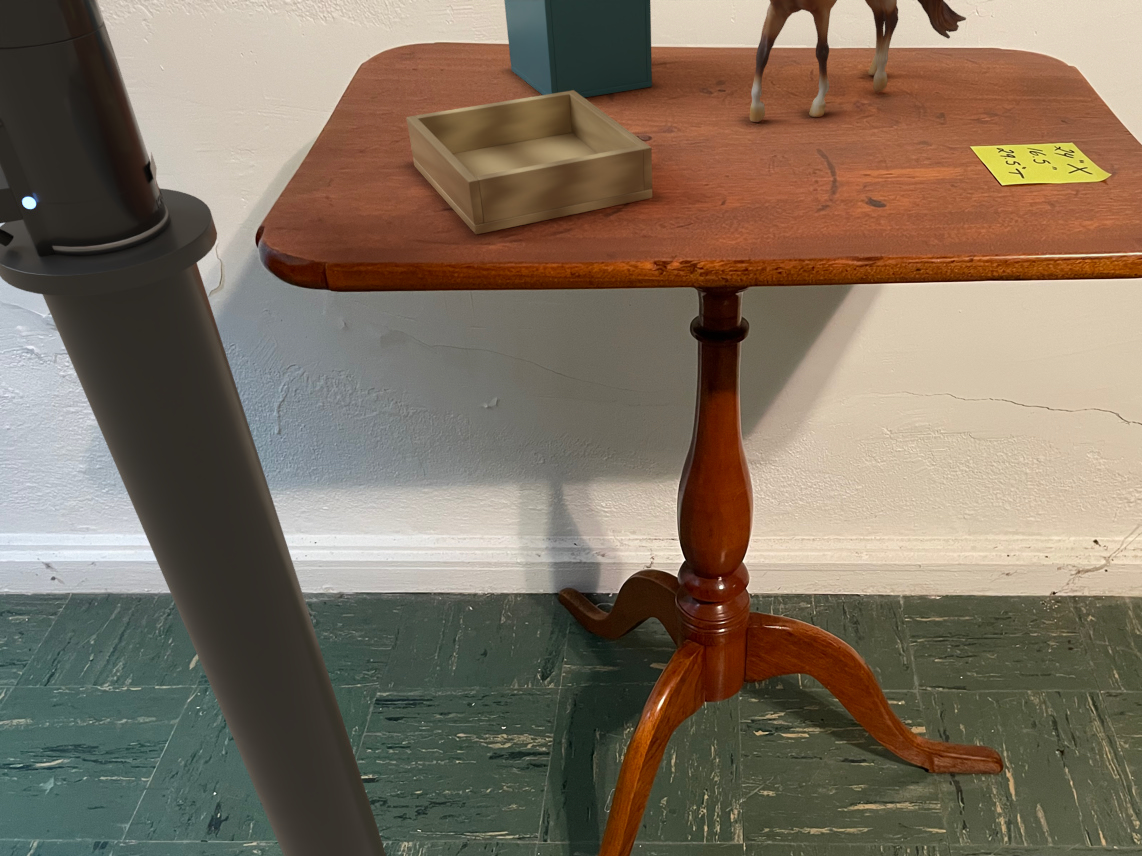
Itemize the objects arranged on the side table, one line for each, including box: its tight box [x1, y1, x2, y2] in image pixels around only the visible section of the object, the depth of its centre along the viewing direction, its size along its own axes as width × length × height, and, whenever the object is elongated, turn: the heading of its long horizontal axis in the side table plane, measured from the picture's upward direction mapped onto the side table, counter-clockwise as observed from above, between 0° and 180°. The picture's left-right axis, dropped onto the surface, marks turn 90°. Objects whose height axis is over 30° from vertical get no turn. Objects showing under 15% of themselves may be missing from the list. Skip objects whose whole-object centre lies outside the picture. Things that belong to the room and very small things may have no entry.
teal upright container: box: [504, 0, 653, 99], centre depth 110 cm, size 11×11×11 cm
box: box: [405, 90, 653, 235], centre depth 91 cm, size 16×16×4 cm
